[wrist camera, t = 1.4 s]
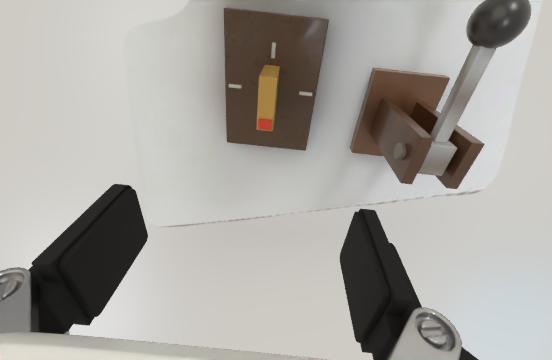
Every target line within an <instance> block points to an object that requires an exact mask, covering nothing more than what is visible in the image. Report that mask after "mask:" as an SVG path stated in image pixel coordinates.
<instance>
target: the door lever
mask: <svg viewBox="0 0 552 360" xmlns="http://www.w3.org/2000/svg"><path fill="white" fill-rule="evenodd" d="M530 16H531V5H530V2H529V1H528V0H485V1H484V2H482V3H481V4H480V5H479V6H478V7H477V8H476V9H475V10H474V12H473V13H472V15H471V16H470V18H469V20H468V23H467V28H466V32H467V37H468V39H469V41H470V42H471V43H472V44H473V46H472V48H471V50H470V52H469V54H468V56H467V59H466V61H465V63H464V65H463V67H462V69H461V71H460V73H459V75H458V78H457V80H456V82H455V84H454V86H453V88H452V90H451V92H450V94H449V96H448V99H447V101H446V103H445V105H444V107H443V109H442V111H441V113H440V115H439V118H438V120H437V122H436V124H435V126H434V128H433V130H432V132H431V134H430V136H431V137H432V138H434V140H433V142H432V144H431V146H430V148H429V150H428V152H427V154H426V156H425V158H424V160H423V162H422V164H421V166H420V168H419V170H418V172H417V173H419V174H428V175H437V176H442V175H443V173H444V171H445V170H446V168H447V166H448V164H449V162H450V161H451V159H452V157H453V155H454V153H455V152H456V150H457V147H456V146H454V145H453V144H452V143H451V142H450V141H448V140H449V138H450V136H451V134H452V132H453V130H454V128H455V126H456V124H457V122H458V121H459V119H460V117H461V115H462V113H463V111H464V109H465V107H466V105H467V103H468V101H469V100H470V98H471V96H472V94H473V92H474V90H475V88H476V86H477V84H478V82H479V81H480V79H481V77H482V75H483V73H484V71H485V69H486V67H487V65H488V63H489V61H490V60H491V58H492V56H493V54H494V52H495V50H496V48H498V47H501V46H503V45H506V44H507V43H509V42H511V41H512V40H514V39H515V38H516V37H517V36H518V35H519V34H520V33H521V32H522V31H523V30H524V29H525V27H526V26H527V24H528V22H529V19H530Z"/></svg>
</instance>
